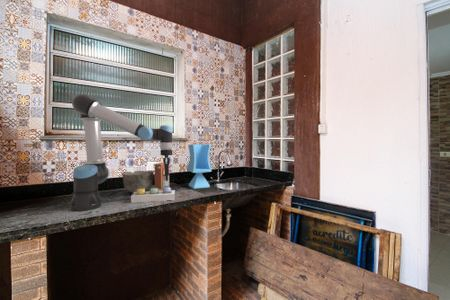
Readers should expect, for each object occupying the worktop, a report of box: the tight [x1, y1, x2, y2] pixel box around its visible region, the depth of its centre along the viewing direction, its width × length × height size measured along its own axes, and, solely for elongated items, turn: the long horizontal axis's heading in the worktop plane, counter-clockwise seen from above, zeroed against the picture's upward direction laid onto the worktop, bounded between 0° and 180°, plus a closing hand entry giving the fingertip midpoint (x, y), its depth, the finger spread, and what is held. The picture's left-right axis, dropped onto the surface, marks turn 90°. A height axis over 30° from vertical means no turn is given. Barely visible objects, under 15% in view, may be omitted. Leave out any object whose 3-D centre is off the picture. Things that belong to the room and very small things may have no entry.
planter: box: [186, 144, 212, 190], centre depth 186 cm, size 16×16×35 cm
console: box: [130, 189, 176, 204], centre depth 145 cm, size 26×12×4 cm, turn 103°
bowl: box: [121, 170, 155, 194], centre depth 164 cm, size 22×22×15 cm
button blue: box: [163, 186, 172, 194], centre depth 147 cm, size 5×5×3 cm
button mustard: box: [137, 188, 146, 195], centre depth 143 cm, size 5×5×3 cm
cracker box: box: [154, 161, 170, 191], centre depth 166 cm, size 21×7×15 cm
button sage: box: [149, 187, 158, 194], centre depth 145 cm, size 5×5×3 cm
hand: (166, 185), depth 147 cm, fingers closed
